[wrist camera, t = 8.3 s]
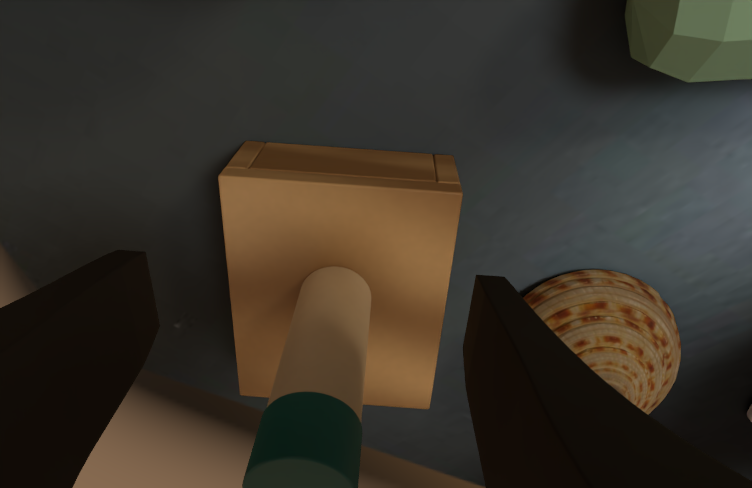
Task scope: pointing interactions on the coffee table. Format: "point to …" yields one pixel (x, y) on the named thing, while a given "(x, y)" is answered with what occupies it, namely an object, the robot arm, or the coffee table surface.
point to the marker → (317, 389)
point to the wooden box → (341, 254)
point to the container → (692, 37)
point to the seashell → (614, 330)
